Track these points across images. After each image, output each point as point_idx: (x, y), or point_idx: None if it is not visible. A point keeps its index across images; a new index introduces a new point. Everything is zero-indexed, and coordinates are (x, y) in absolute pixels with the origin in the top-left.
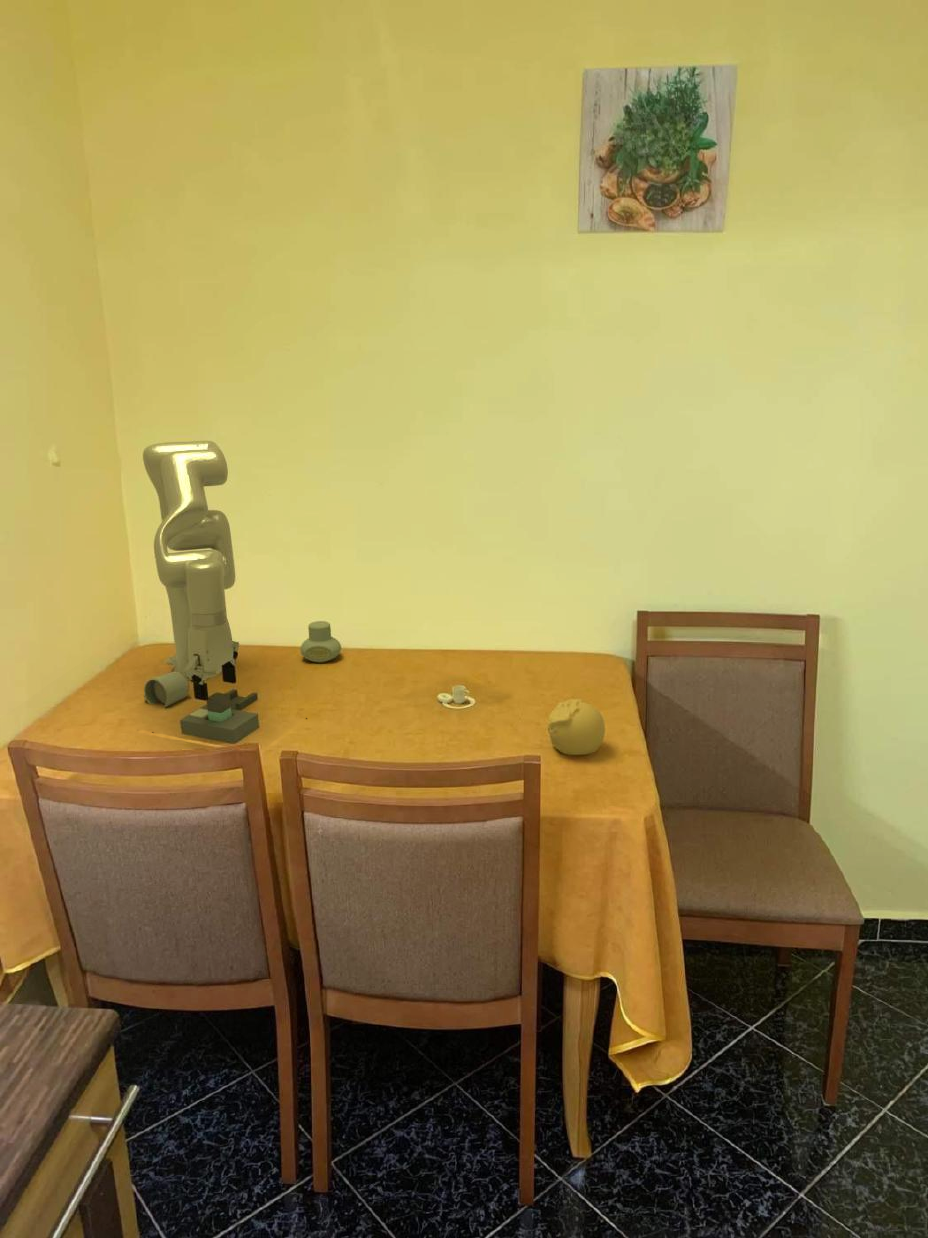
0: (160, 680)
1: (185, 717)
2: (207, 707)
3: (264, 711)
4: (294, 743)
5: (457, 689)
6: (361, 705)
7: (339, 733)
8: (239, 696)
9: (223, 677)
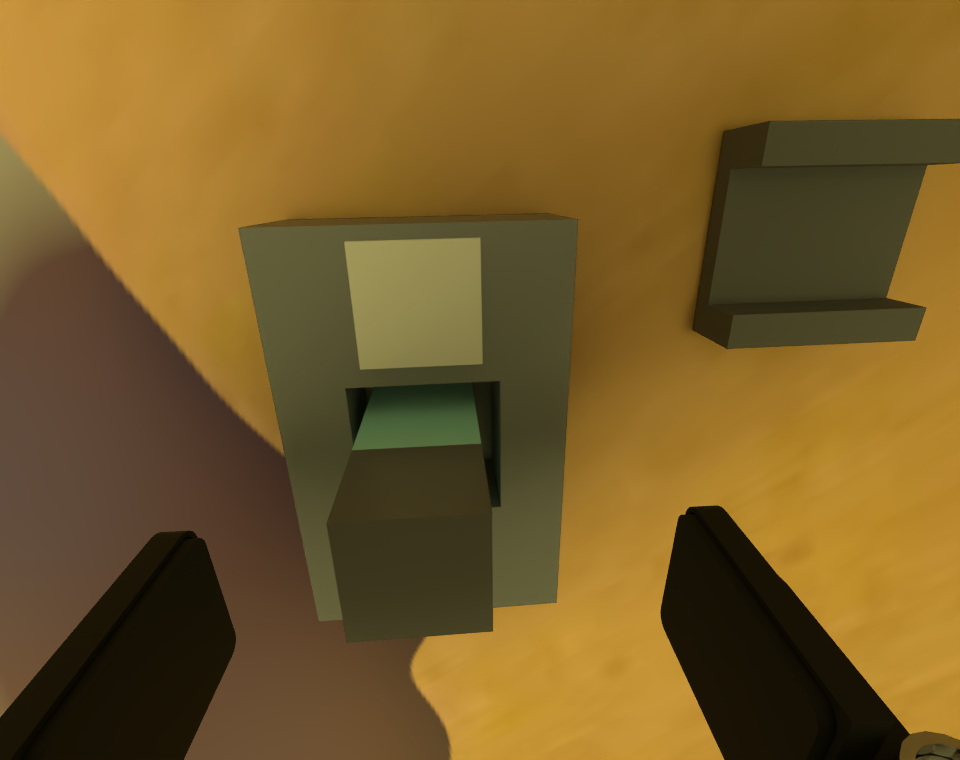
0: None
1: (298, 237)
2: (345, 469)
3: (746, 425)
4: (481, 695)
5: None
6: None
7: (611, 755)
8: (917, 184)
9: (704, 556)
